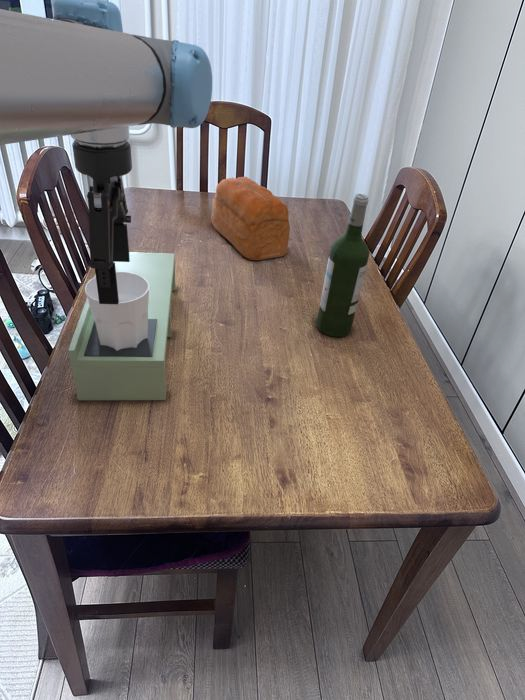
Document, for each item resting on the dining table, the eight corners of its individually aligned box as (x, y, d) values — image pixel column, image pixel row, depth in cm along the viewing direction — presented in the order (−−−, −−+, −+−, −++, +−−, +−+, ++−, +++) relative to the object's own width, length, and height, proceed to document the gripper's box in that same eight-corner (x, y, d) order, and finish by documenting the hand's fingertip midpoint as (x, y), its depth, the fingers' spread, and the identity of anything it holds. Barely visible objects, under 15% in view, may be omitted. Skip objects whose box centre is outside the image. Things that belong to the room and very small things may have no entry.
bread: (247, 263, 130) (252, 208, 121) (207, 223, 148) (208, 173, 138) (292, 255, 136) (299, 202, 126) (248, 218, 154) (251, 170, 144)
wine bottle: (355, 336, 107) (389, 204, 89) (321, 338, 105) (348, 203, 87) (344, 316, 113) (373, 189, 95) (312, 317, 111) (335, 188, 93)
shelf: (165, 400, 86) (163, 351, 79) (77, 400, 84) (67, 350, 77) (175, 287, 117) (174, 245, 110) (111, 285, 115) (106, 242, 108)
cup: (89, 324, 86) (81, 275, 80) (145, 316, 90) (142, 268, 84) (96, 358, 79) (88, 307, 73) (157, 348, 83) (155, 298, 77)
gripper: (117, 171, 56) (130, 324, 68) (139, 120, 75) (146, 247, 88) (48, 167, 55) (74, 323, 67) (89, 117, 74) (104, 245, 87)
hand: (115, 280), depth 78 cm, fingers open, 13 cm apart
